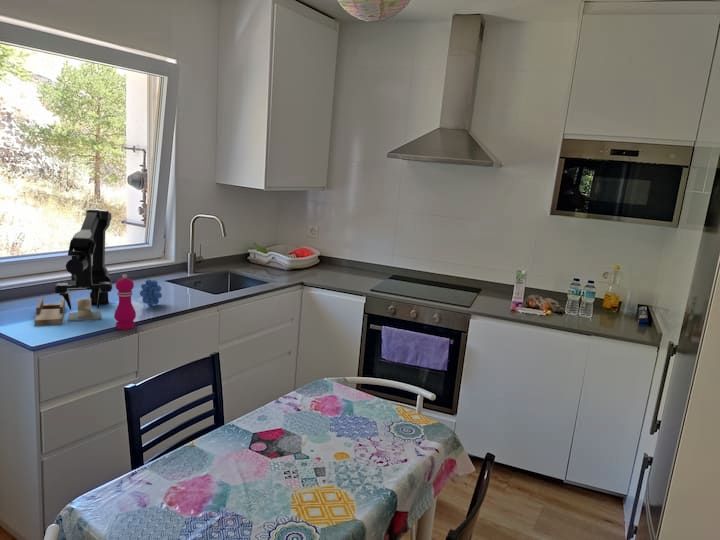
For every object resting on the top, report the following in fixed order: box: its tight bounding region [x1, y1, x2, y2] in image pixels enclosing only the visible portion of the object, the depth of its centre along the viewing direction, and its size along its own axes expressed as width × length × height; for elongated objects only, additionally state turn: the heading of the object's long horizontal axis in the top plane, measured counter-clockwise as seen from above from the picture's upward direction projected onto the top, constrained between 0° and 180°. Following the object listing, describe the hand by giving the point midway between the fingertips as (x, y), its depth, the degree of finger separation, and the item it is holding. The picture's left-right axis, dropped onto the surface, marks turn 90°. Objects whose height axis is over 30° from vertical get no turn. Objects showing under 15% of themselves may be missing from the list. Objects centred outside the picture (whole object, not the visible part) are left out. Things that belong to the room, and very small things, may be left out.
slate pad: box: [67, 310, 102, 323], centre depth 199 cm, size 11×11×1 cm
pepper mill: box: [113, 273, 137, 330], centre depth 188 cm, size 7×7×20 cm
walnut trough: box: [33, 296, 66, 326], centre depth 197 cm, size 8×24×4 cm, turn 27°
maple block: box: [77, 297, 92, 317], centre depth 199 cm, size 4×4×6 cm
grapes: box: [139, 279, 163, 307], centre depth 219 cm, size 12×7×12 cm, turn 158°
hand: (84, 309), depth 198 cm, fingers open, 9 cm apart
